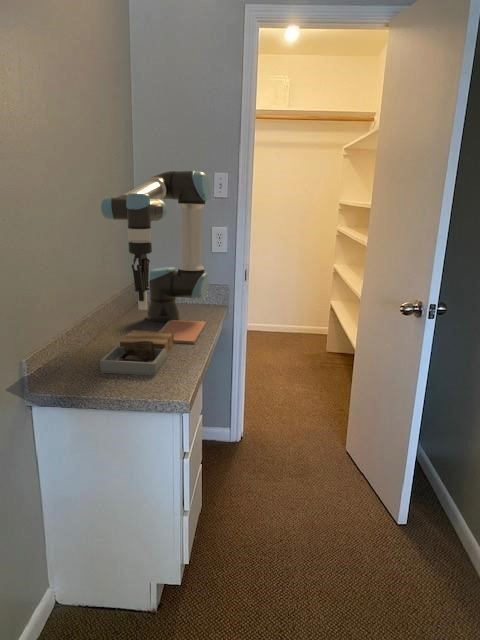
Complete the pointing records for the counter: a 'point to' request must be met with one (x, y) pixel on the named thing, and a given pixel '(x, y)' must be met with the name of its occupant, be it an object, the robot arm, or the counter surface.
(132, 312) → the counter surface
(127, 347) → the clothes iron
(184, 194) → the robot arm
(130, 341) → the walnut stand
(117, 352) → the bin
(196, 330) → the notebook
